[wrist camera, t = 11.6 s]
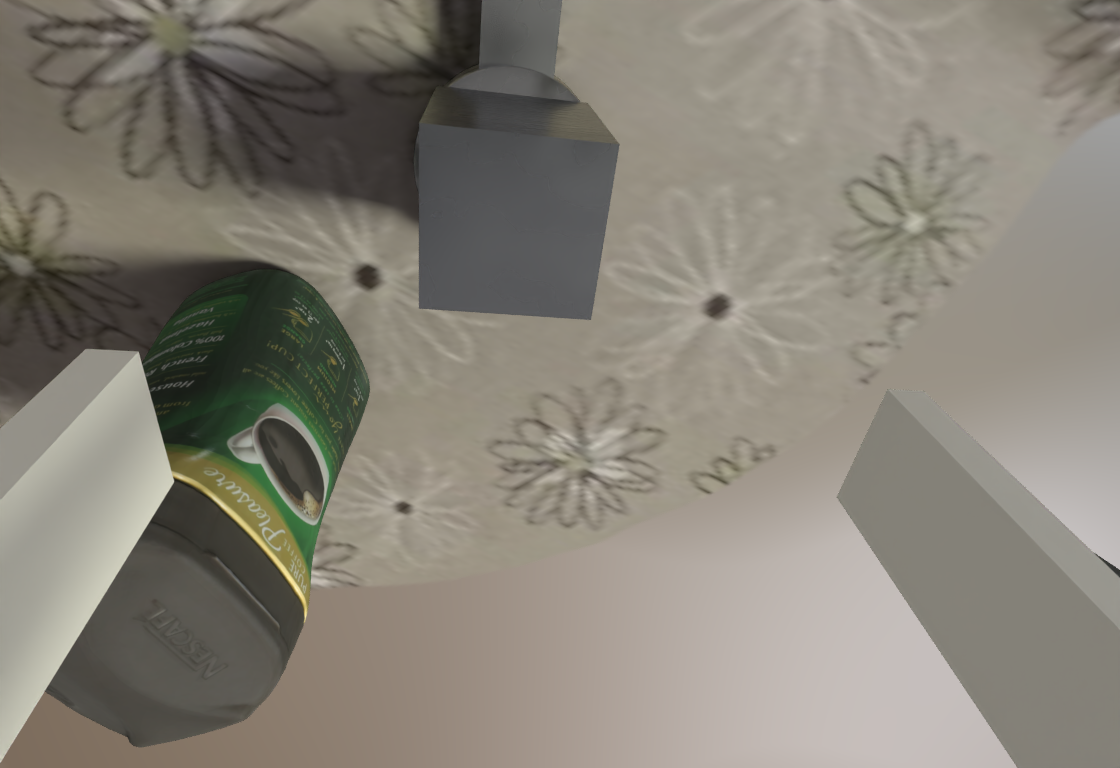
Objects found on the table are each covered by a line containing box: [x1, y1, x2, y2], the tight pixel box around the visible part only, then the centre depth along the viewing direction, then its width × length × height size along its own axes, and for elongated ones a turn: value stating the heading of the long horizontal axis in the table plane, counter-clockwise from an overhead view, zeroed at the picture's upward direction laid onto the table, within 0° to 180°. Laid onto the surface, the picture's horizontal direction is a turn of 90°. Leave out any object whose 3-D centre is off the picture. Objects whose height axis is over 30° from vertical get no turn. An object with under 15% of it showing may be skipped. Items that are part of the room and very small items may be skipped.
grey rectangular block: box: [419, 86, 619, 320], centre depth 24 cm, size 6×6×8 cm
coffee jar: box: [45, 269, 370, 747], centre depth 25 cm, size 10×8×19 cm
